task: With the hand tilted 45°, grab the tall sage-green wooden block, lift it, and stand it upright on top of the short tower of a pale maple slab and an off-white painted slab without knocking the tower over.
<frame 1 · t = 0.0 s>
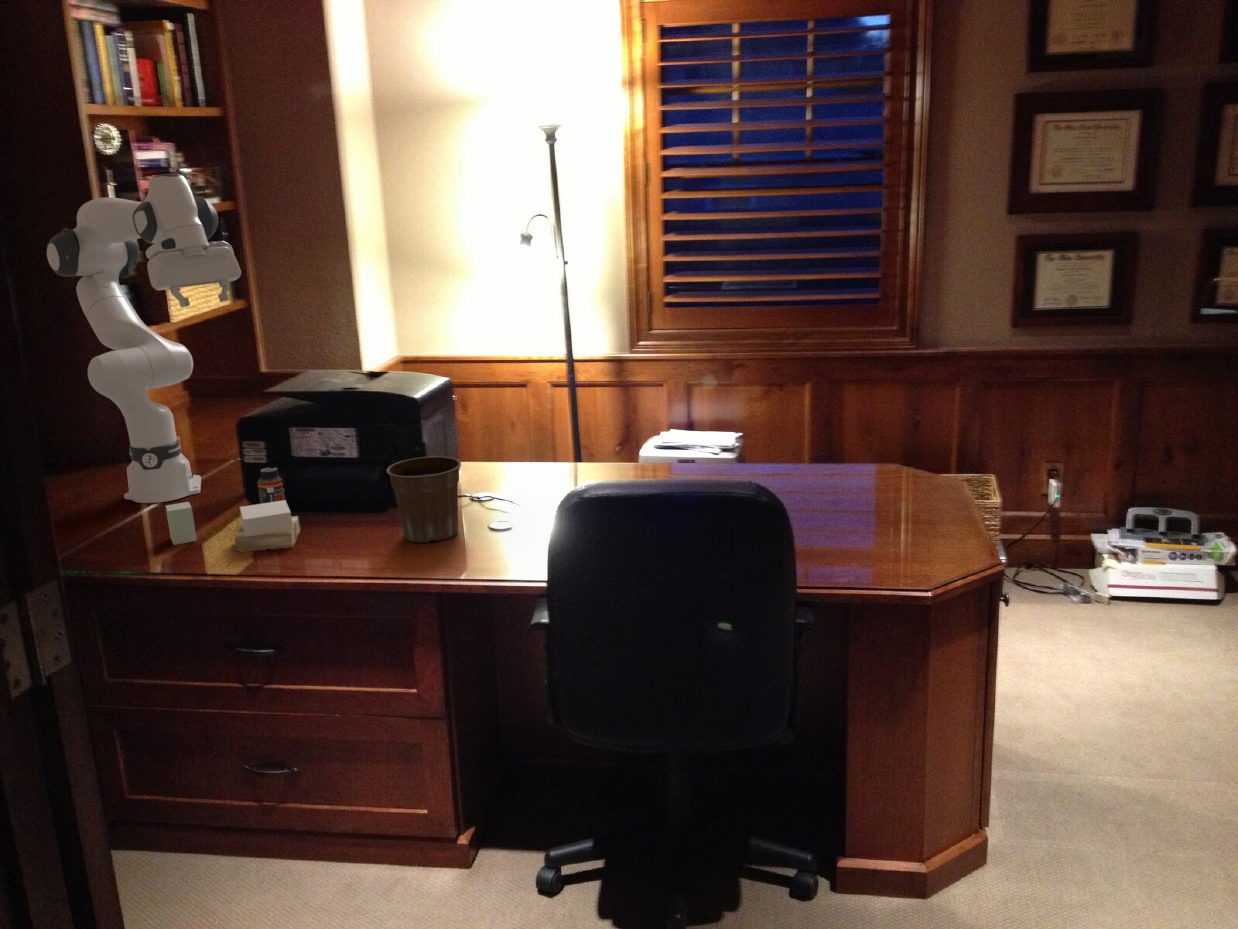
hand: (205, 303, 249), 52 cm above the table, tool tilted 20°, fingers open, 8 cm apart
maple base slab: (269, 543, 250), on the table
sage block: (183, 539, 253), on the table
white top slab: (267, 526, 249), point 3 cm above the table
plant pot: (430, 535, 249), on the table
supplement bottle: (274, 514, 269), on the table
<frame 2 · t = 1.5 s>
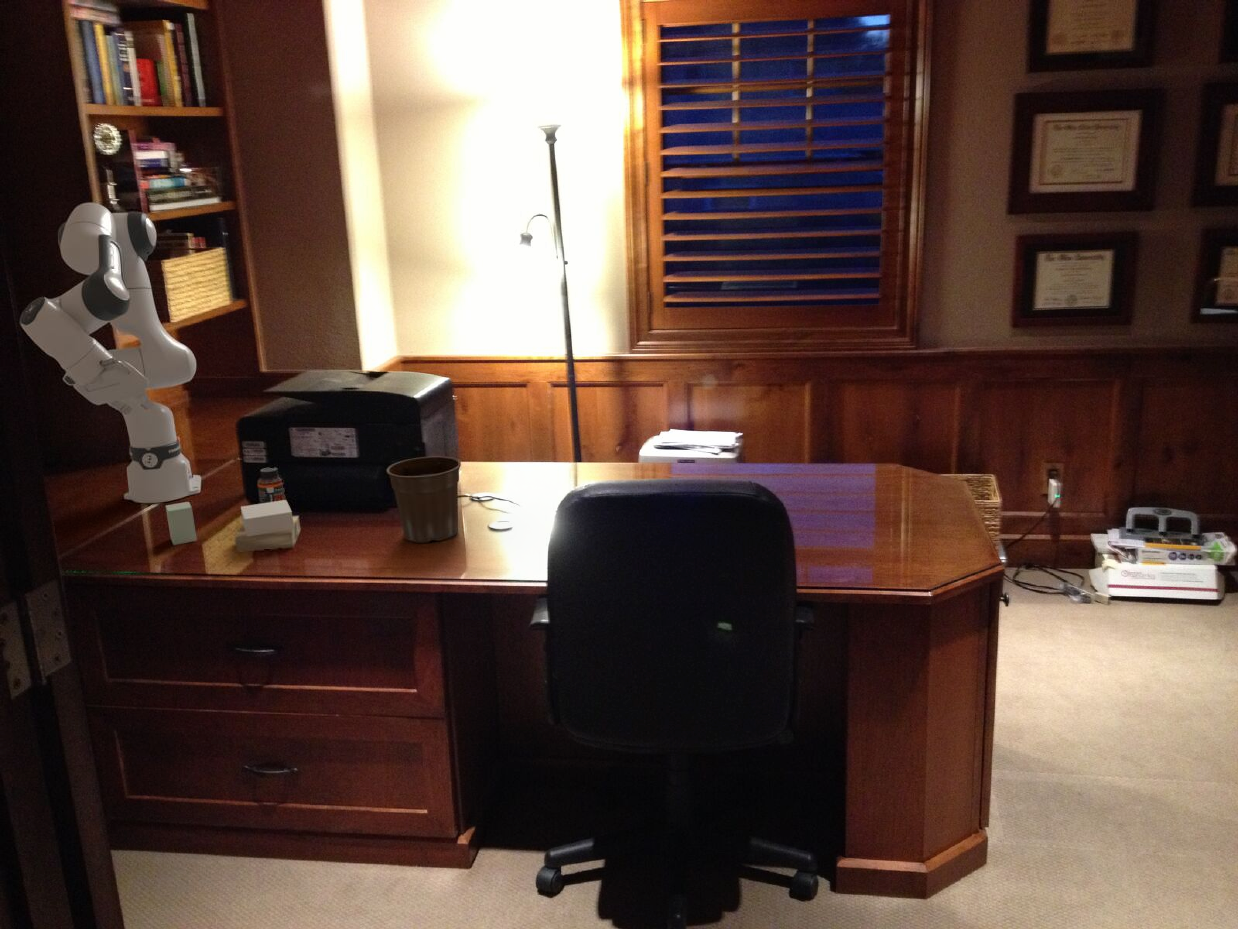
hand: (139, 409, 241), 31 cm above the table, tool tilted 35°, fingers open, 8 cm apart
nothing on the table moved.
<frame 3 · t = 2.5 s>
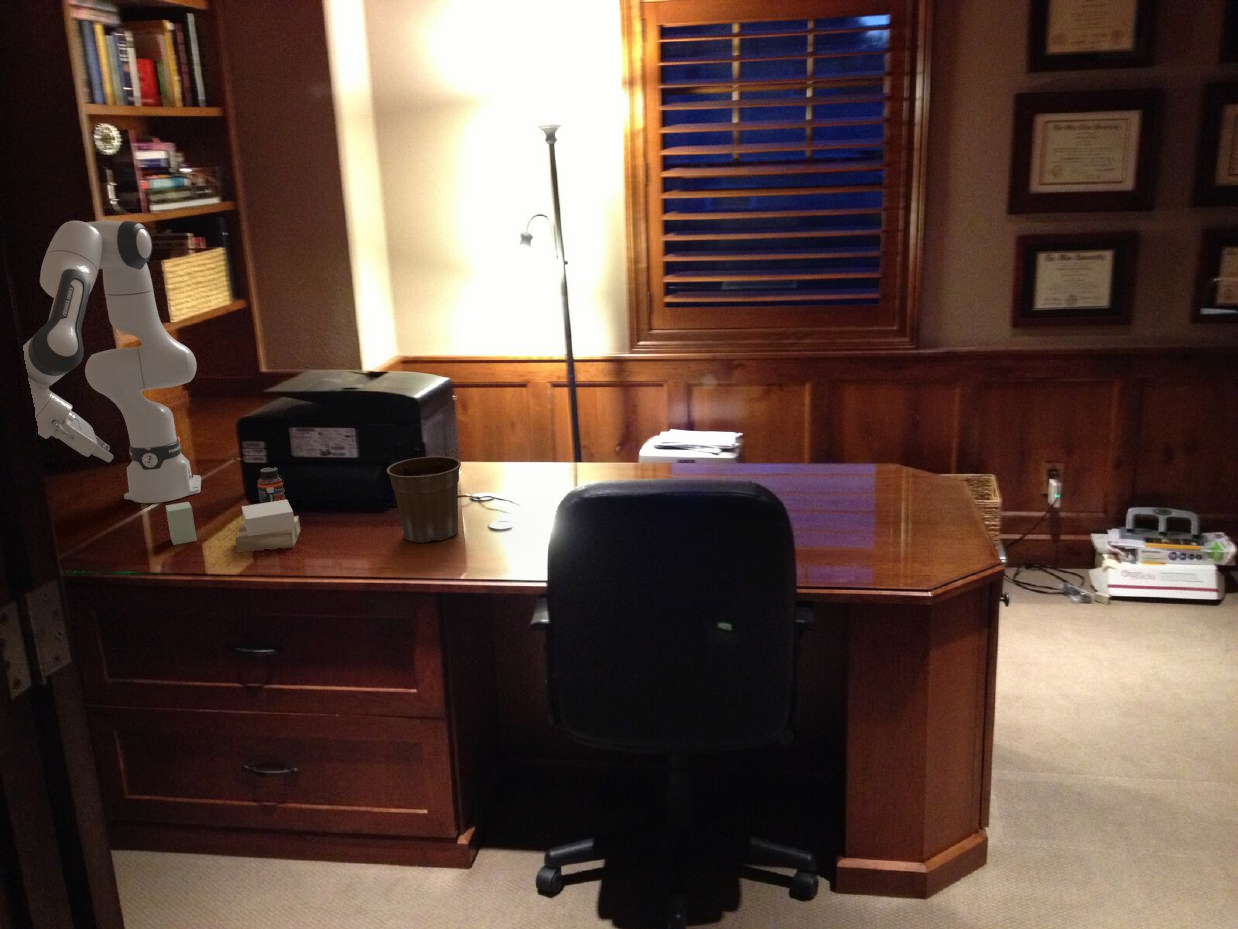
hand: (109, 454, 242), 22 cm above the table, tool tilted 45°, fingers open, 8 cm apart
maple base slab: (270, 543, 250), on the table, touching white top slab
white top slab: (269, 525, 249), point 3 cm above the table, touching maple base slab
everything else where it was.
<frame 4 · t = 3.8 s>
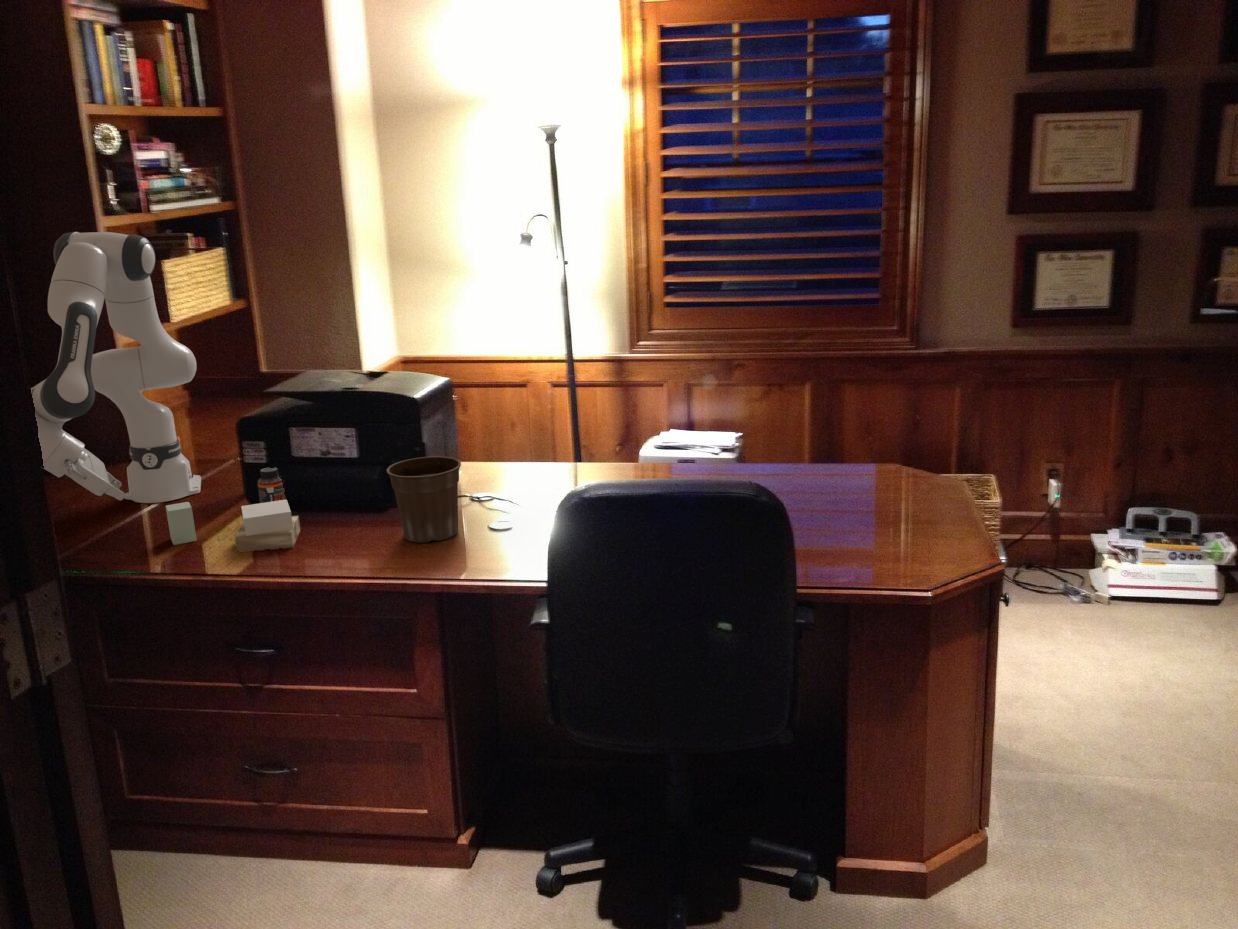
hand: (121, 491, 245), 13 cm above the table, tool tilted 45°, fingers open, 8 cm apart
nothing on the table moved.
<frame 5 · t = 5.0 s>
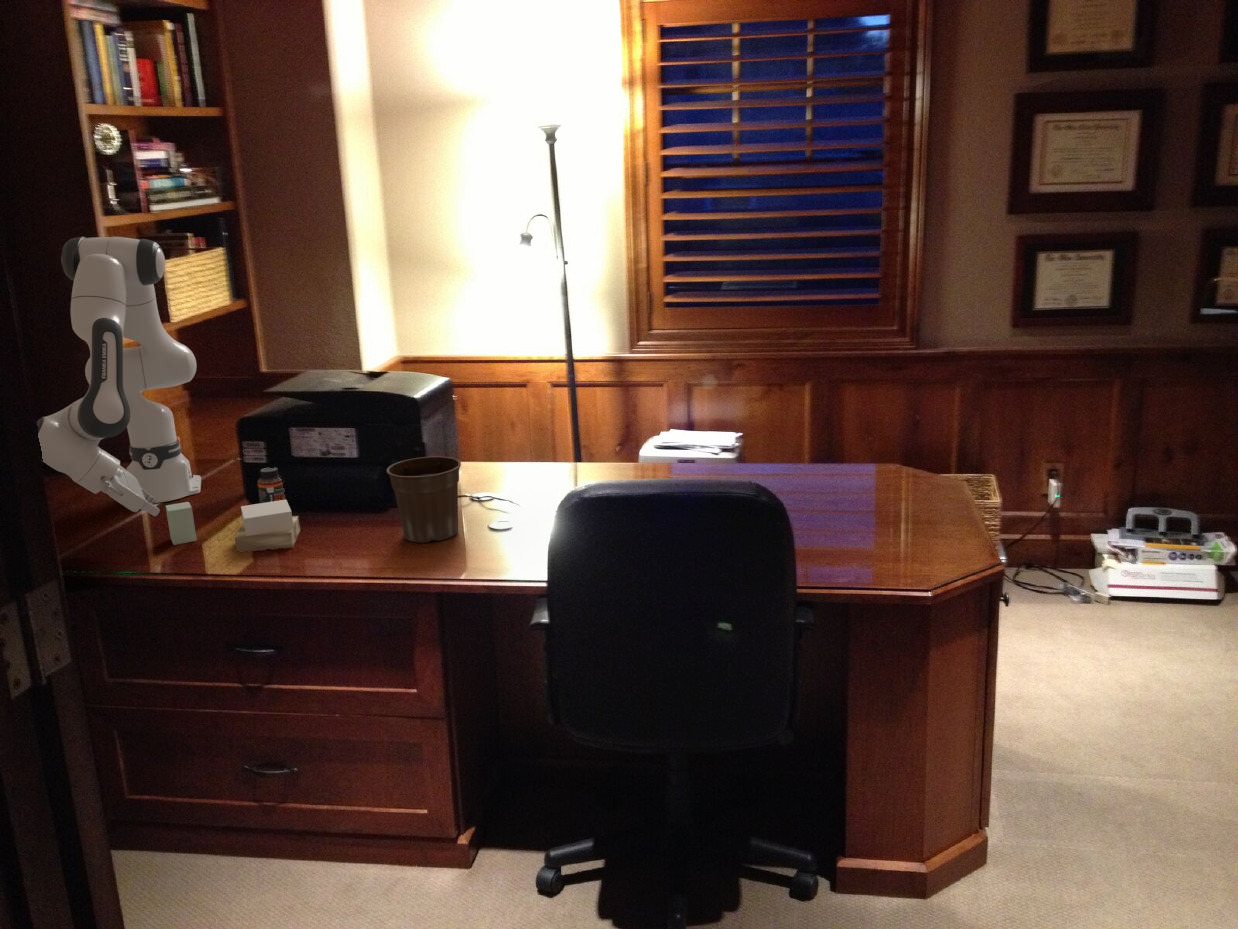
hand: (155, 507, 249), 9 cm above the table, tool tilted 45°, fingers open, 8 cm apart
nothing on the table moved.
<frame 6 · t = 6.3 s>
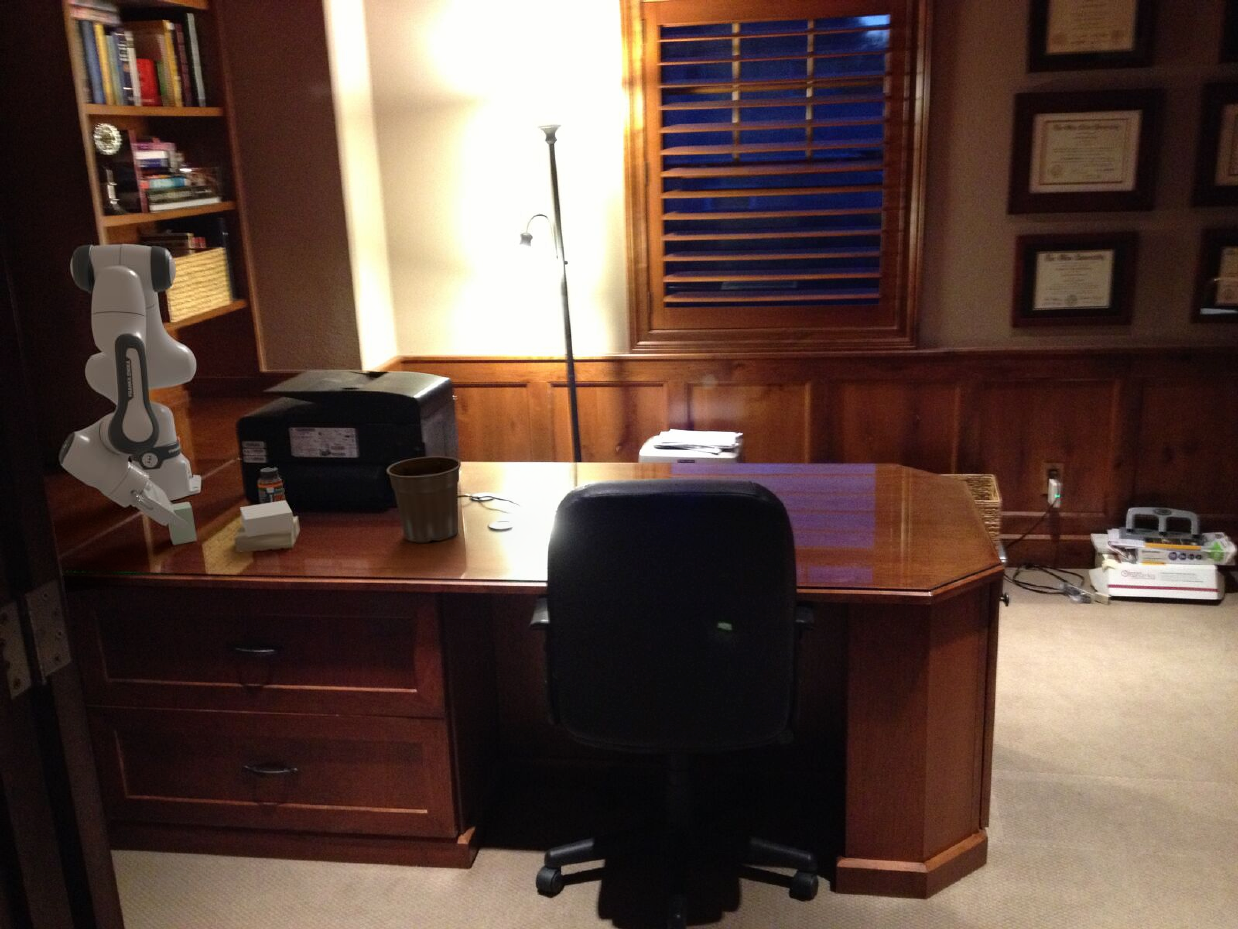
hand: (183, 520, 252), 4 cm above the table, tool tilted 45°, fingers open, 8 cm apart
maple base slab: (269, 543, 250), on the table
white top slab: (268, 526, 249), point 3 cm above the table
everything else where it was.
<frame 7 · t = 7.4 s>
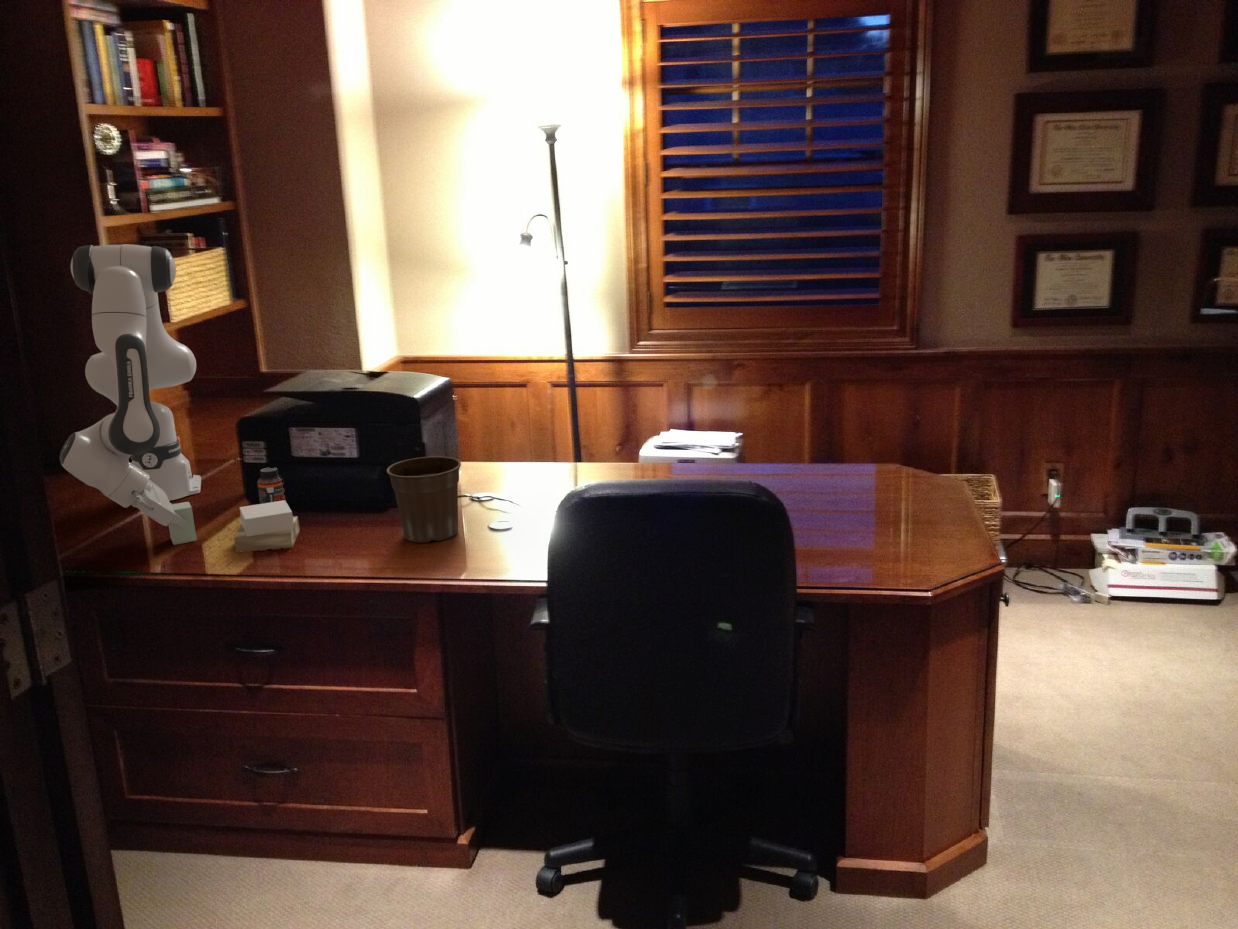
hand: (183, 520, 252), 4 cm above the table, tool tilted 45°, fingers closed on sage block, 5 cm apart
maple base slab: (269, 543, 250), on the table, touching white top slab
sage block: (183, 539, 253), on the table, touching gripper
white top slab: (267, 526, 249), point 3 cm above the table, touching maple base slab
everything else where it was.
when the fingers open (14 cm above the table, at t = 15.2 s): sage block drops 2 cm, point 8 cm above the table.
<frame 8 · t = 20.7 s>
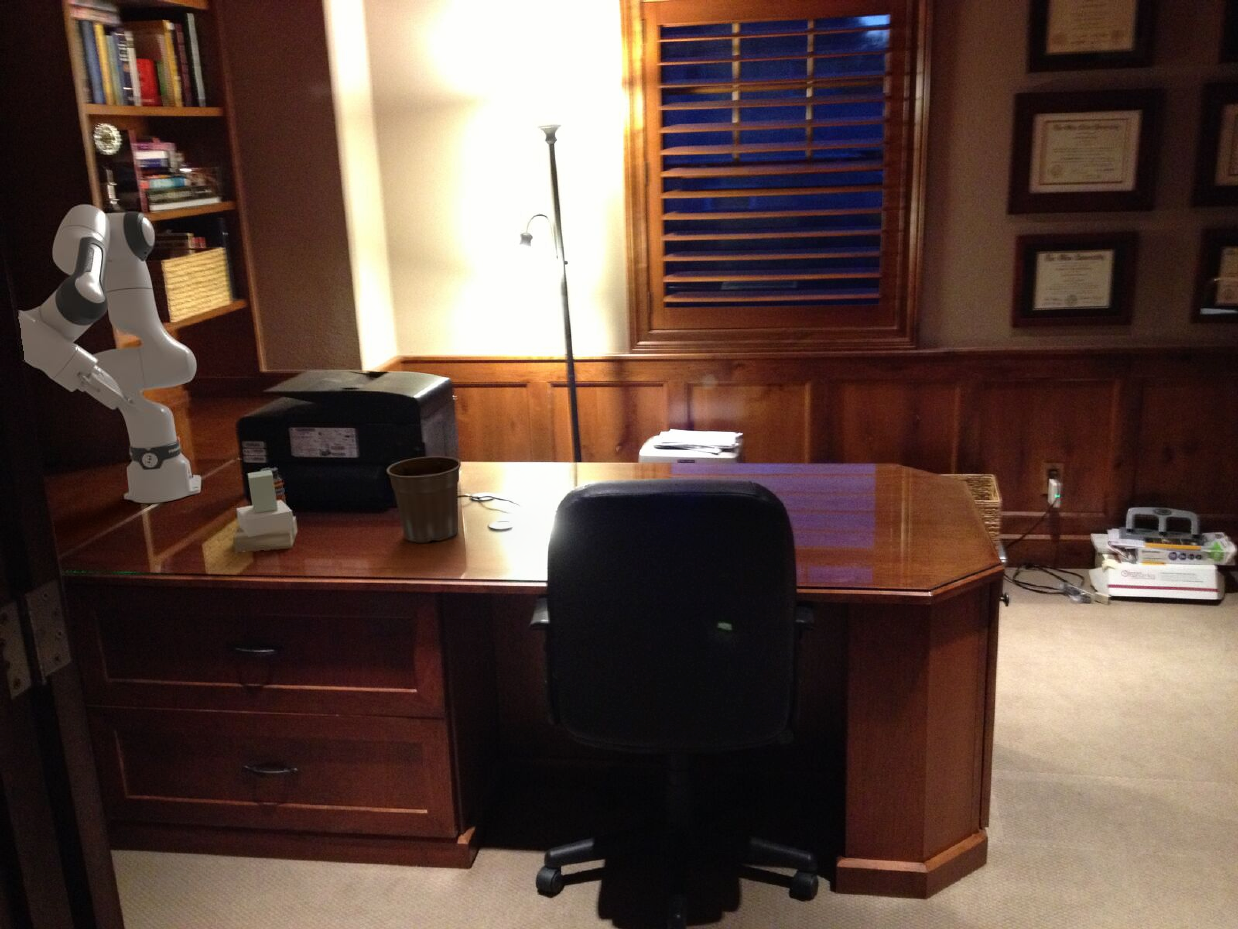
hand: (134, 409, 242), 31 cm above the table, tool tilted 45°, fingers open, 8 cm apart
sage block: (265, 508, 248), point 8 cm above the table
everything else where it was.
at the end: sage block inside the target area on the maple base slab (0.6 cm from its centre), point 8.0 cm above the maple base slab's base; sage block tilted 0°; white top slab 0.3 cm off-centre on the maple base slab, point 4.0 cm above the maple base slab's base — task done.
